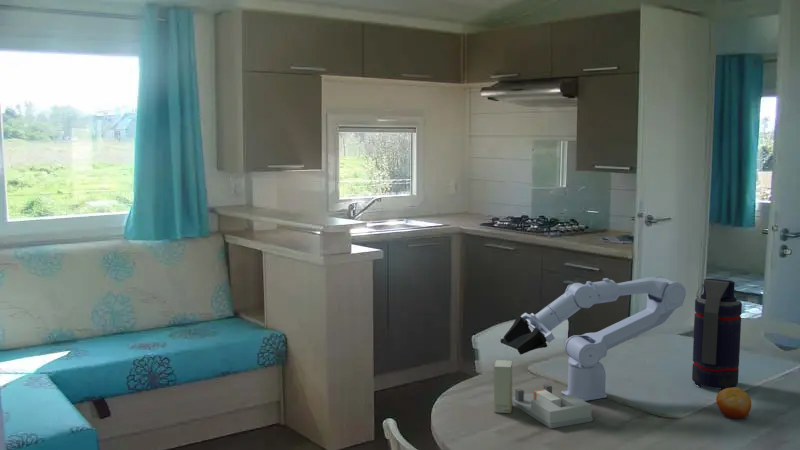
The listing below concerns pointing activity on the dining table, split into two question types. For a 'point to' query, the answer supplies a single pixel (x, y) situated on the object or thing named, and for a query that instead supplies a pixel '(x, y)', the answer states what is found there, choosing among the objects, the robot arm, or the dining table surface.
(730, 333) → the grenade
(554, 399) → the button
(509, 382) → the skincare box
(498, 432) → the dining table surface
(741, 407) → the fruit
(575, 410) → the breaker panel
